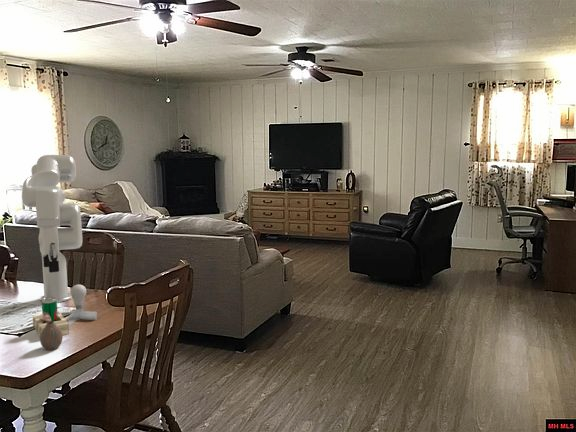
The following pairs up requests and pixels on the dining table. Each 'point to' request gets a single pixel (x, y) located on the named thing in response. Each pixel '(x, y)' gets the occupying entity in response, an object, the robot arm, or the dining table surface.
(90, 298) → the dining table surface
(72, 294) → the lightbulb
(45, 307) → the soda can
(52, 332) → the brown egg-shaped piece
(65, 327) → the bore beam
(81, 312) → the grey angled tube
